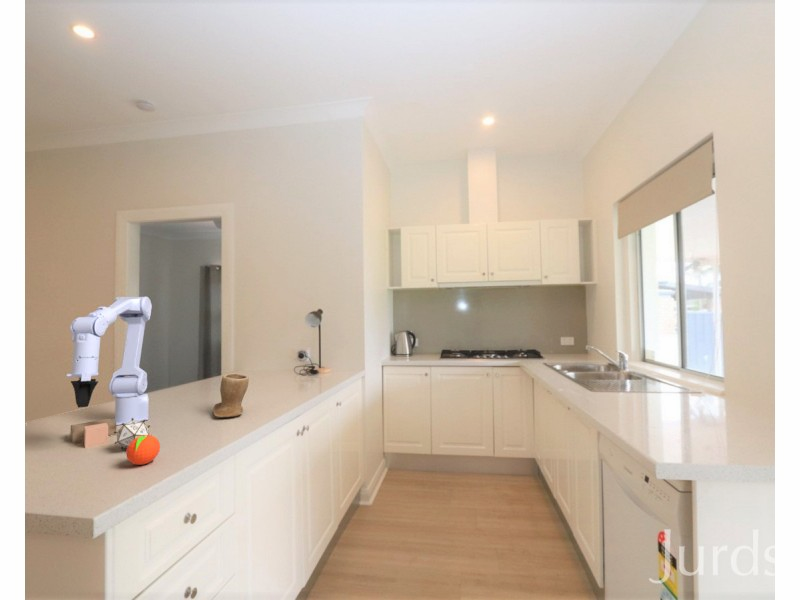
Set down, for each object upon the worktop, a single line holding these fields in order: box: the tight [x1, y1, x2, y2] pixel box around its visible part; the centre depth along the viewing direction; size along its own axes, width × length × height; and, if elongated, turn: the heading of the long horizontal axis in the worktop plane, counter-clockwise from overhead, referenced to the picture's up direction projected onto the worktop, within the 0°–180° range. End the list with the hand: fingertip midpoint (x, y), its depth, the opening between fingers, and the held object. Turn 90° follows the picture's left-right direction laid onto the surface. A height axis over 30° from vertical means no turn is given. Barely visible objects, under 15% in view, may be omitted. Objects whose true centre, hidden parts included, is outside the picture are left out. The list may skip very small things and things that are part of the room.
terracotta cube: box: [83, 423, 109, 449], centre depth 105 cm, size 5×5×5 cm
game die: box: [113, 418, 153, 450], centre depth 100 cm, size 9×8×10 cm
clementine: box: [126, 434, 161, 466], centre depth 90 cm, size 8×7×7 cm
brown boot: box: [213, 372, 250, 418], centre depth 135 cm, size 15×12×15 cm
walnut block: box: [69, 417, 117, 444], centre depth 111 cm, size 10×8×4 cm
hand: (82, 405), depth 103 cm, fingers open, 7 cm apart
